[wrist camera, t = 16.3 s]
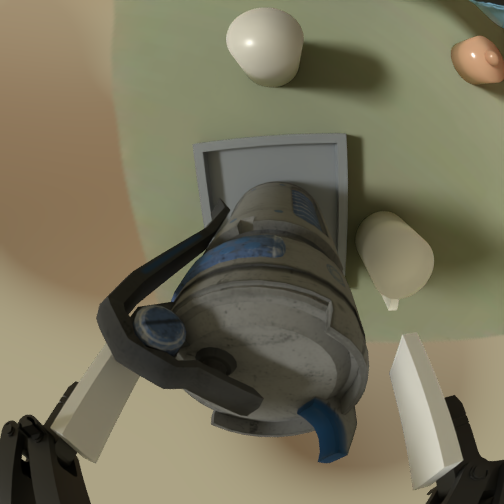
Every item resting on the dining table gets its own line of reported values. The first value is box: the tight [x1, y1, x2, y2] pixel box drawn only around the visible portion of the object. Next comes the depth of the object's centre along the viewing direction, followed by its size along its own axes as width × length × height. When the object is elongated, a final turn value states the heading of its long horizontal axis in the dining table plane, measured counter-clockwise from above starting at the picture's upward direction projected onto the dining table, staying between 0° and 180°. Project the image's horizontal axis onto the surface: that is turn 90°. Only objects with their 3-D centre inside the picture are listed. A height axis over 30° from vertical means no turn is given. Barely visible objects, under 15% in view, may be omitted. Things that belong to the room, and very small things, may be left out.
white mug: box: [355, 211, 434, 311], centre depth 28 cm, size 9×7×8 cm
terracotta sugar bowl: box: [451, 36, 504, 85], centre depth 16 cm, size 6×6×6 cm
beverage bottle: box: [96, 181, 369, 463], centre depth 20 cm, size 10×13×25 cm
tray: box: [193, 133, 348, 276], centre depth 31 cm, size 19×16×2 cm
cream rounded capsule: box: [226, 8, 304, 87], centre depth 20 cm, size 6×6×9 cm
